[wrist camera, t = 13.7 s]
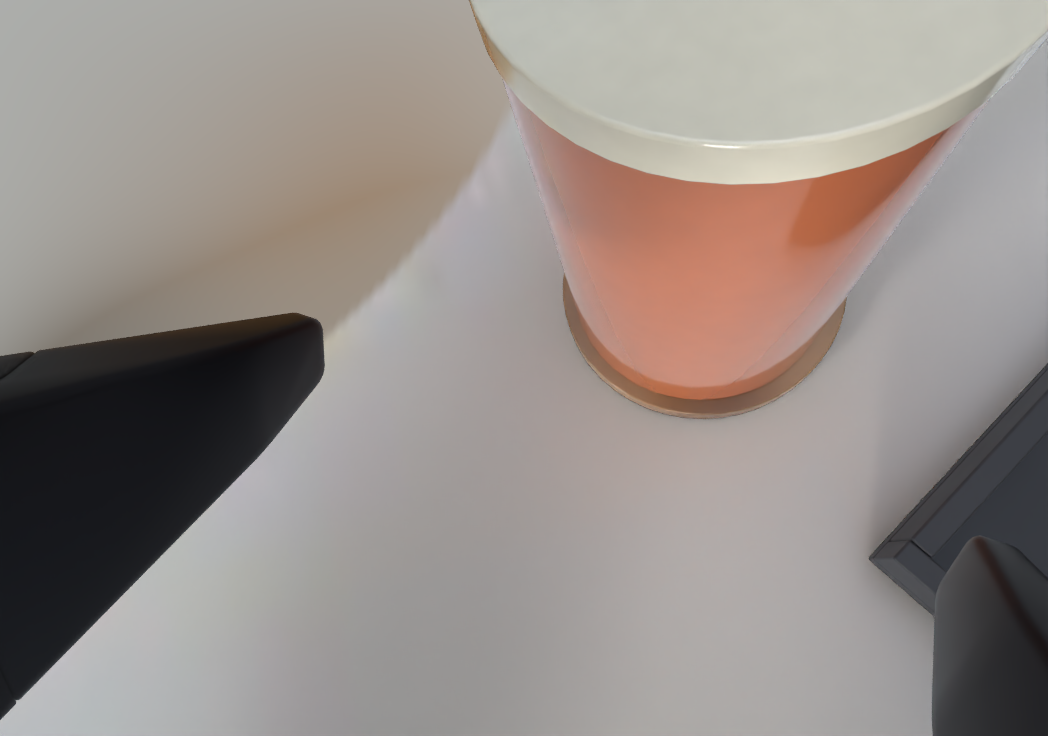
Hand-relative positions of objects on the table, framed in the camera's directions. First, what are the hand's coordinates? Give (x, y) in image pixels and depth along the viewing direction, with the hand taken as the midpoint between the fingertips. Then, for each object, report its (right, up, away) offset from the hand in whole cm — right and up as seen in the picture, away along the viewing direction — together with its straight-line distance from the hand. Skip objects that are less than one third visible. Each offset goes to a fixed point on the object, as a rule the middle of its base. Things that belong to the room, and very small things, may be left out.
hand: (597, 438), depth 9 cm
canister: (+4, +4, +10) cm, 12 cm away
